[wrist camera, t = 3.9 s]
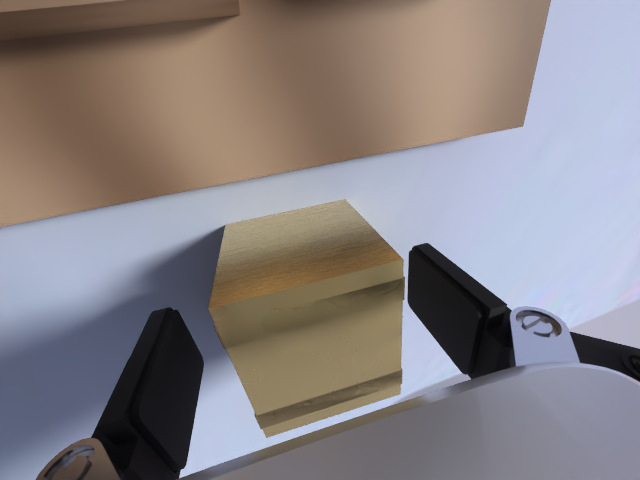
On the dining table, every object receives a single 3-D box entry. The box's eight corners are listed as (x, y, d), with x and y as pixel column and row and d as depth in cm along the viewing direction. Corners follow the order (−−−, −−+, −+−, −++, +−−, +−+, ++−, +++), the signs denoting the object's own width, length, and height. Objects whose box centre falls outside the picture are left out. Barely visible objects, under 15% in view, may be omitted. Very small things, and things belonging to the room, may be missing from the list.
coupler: (224, 224, 11) (205, 309, 6) (346, 199, 11) (405, 259, 7) (260, 330, 14) (265, 438, 9) (355, 304, 14) (401, 393, 10)
